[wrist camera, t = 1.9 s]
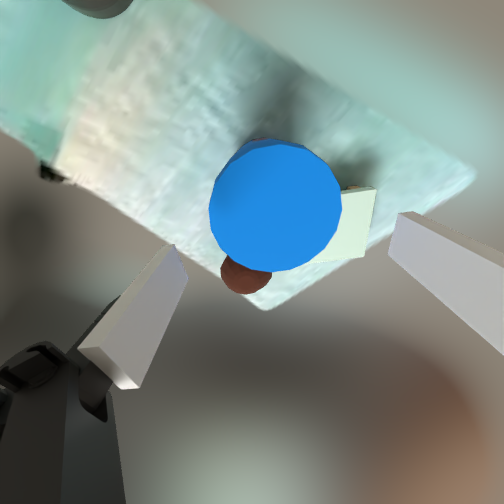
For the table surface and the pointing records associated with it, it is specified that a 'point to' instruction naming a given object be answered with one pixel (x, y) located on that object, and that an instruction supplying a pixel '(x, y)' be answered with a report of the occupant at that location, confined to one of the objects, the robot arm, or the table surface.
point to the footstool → (350, 226)
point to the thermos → (274, 205)
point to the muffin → (243, 277)
